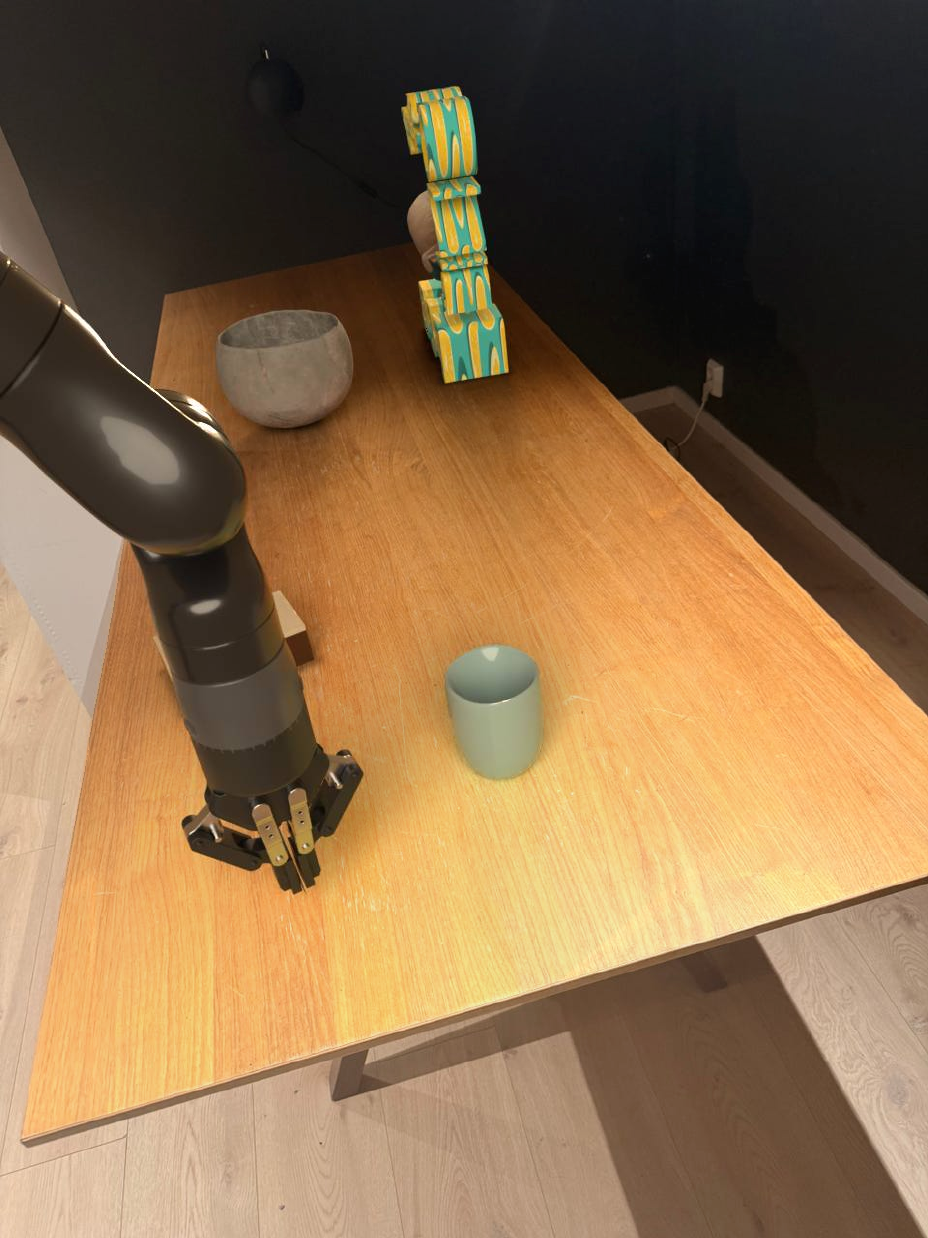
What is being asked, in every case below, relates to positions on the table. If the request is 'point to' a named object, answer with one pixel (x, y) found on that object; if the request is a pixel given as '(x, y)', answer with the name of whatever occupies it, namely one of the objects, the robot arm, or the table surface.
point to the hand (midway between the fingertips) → (300, 882)
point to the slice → (293, 630)
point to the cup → (496, 710)
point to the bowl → (285, 366)
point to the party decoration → (453, 238)
